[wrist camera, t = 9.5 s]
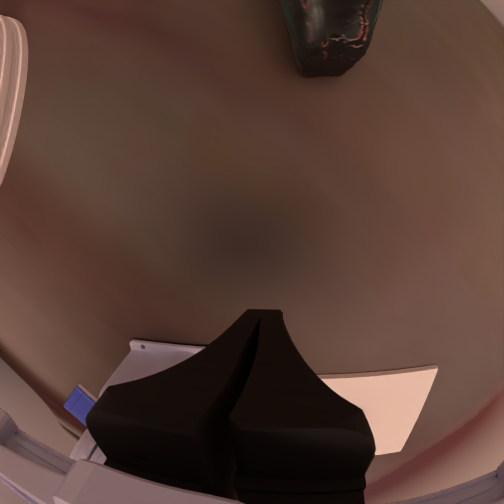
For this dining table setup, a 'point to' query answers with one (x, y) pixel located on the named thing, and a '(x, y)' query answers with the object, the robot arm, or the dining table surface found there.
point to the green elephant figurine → (329, 33)
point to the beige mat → (386, 400)
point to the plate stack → (11, 84)
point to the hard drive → (80, 403)
